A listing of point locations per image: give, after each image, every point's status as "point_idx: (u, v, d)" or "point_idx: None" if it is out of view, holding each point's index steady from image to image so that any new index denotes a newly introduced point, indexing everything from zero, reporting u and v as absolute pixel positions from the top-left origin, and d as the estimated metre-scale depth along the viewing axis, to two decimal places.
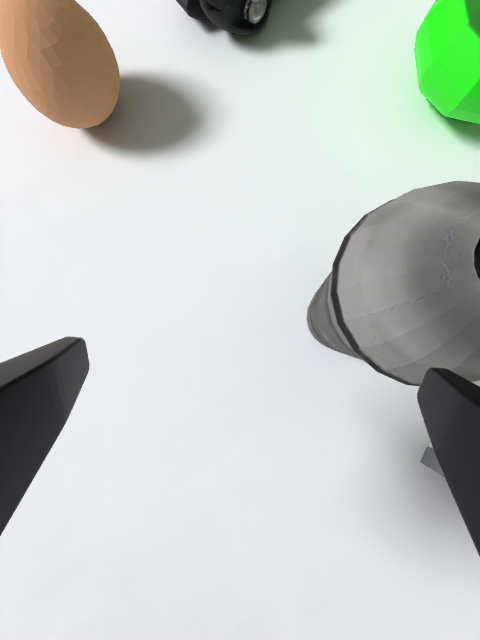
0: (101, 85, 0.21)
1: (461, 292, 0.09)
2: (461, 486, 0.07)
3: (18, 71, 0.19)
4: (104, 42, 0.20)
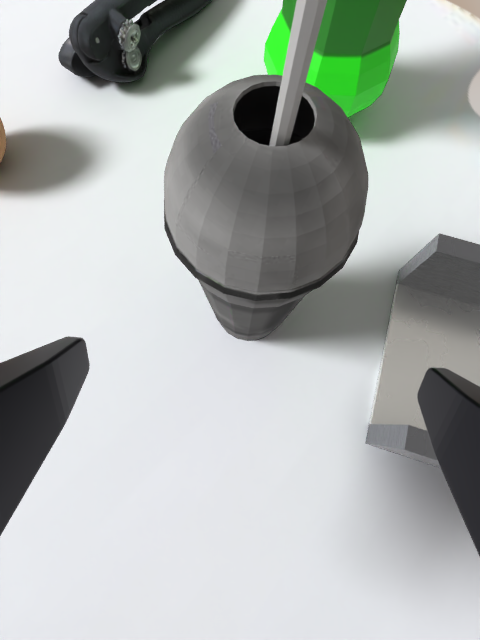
0: None
1: (230, 149, 0.08)
2: (461, 486, 0.07)
3: None
4: None
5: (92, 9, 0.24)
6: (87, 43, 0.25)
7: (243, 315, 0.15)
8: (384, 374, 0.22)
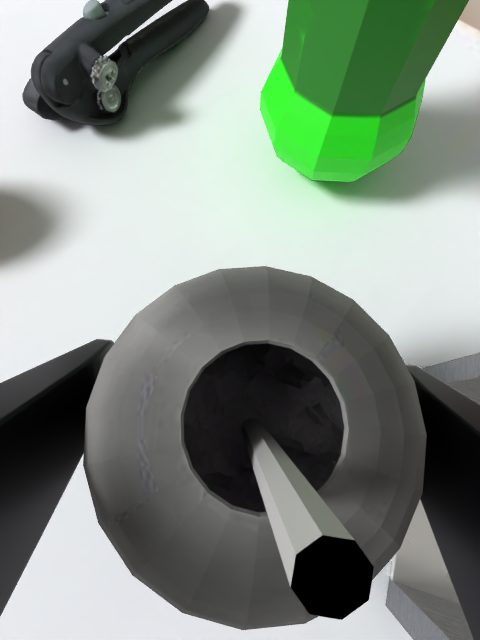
0: None
1: (174, 504, 0.04)
2: (425, 483, 0.07)
3: None
4: None
5: (58, 45, 0.20)
6: (53, 86, 0.21)
7: None
8: None
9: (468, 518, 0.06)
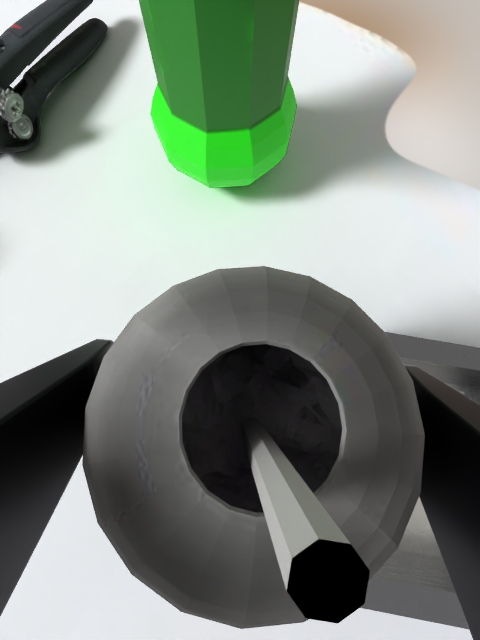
0: None
1: (173, 505, 0.04)
2: (425, 483, 0.07)
3: None
4: None
5: None
6: None
7: None
8: None
9: (468, 518, 0.06)
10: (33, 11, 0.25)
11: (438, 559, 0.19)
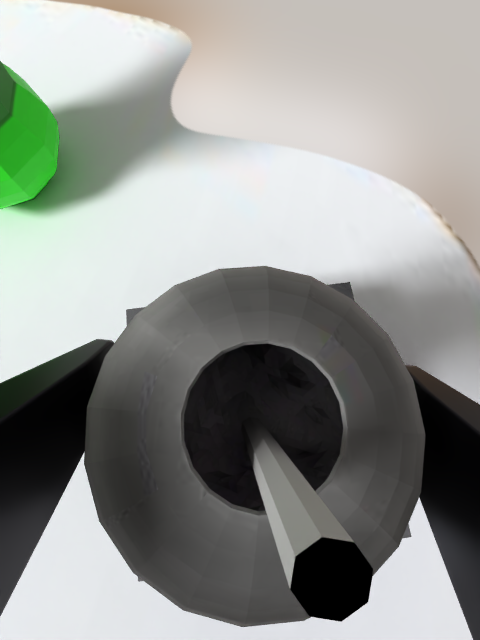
0: None
1: (175, 503, 0.04)
2: (424, 483, 0.07)
3: None
4: None
5: None
6: None
7: None
8: None
9: (468, 518, 0.06)
10: None
11: None
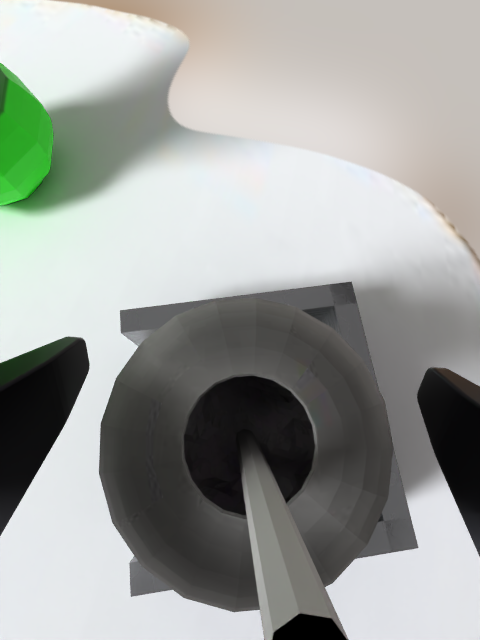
0: None
1: (177, 509, 0.05)
2: (461, 486, 0.07)
3: None
4: None
5: None
6: None
7: None
8: None
9: None
10: None
11: None
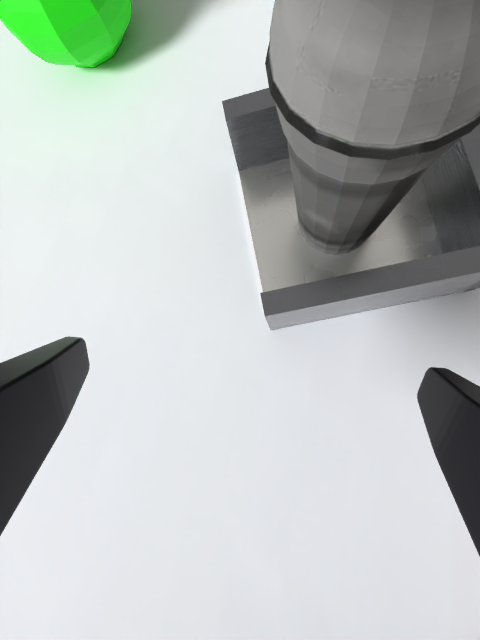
0: None
1: None
2: (461, 486, 0.07)
3: None
4: None
5: None
6: None
7: (350, 205, 0.14)
8: (260, 260, 0.22)
9: None
10: None
11: None
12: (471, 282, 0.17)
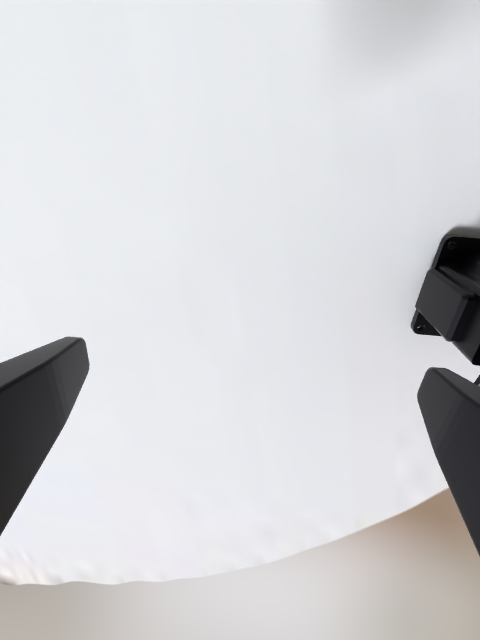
0: None
1: None
2: (461, 486, 0.07)
3: None
4: None
5: None
6: None
7: None
8: None
9: None
10: None
11: None
12: None
